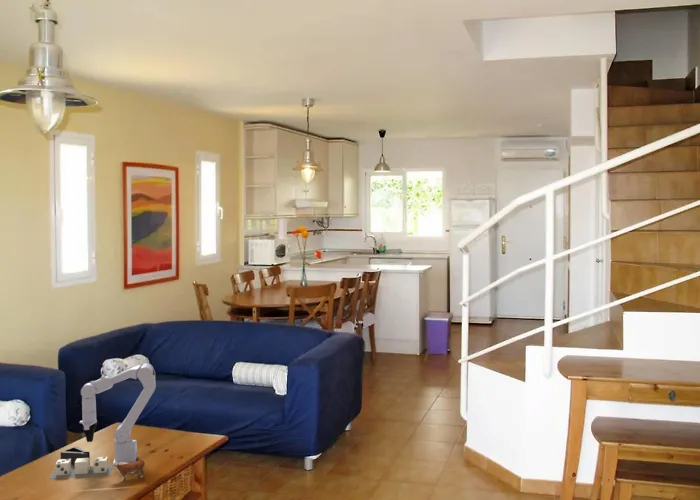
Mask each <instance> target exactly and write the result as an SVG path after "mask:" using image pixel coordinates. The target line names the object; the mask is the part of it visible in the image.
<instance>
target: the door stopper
mask: <svg viewBox="0 0 700 500" xmlns="http://www.w3.org/2000/svg"><path fill="white" fill-rule="evenodd" d="M90 454H91V453H90V451H87V450H84V449H82V448H80V446H77V445H75V446H73V447H70V448H68V449H66V450H63V451H60V459H71V466H75V461H76V459H77V458H89V463H90V464H91V455H90Z"/></svg>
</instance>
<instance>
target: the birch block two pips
mask: <svg viewBox="0 0 700 500" xmlns="http://www.w3.org/2000/svg"><path fill="white" fill-rule="evenodd" d="M108 460H109V458H108V456H96V457H95V458H94V460H93V466H94V473H103V472H107V469H108V465H109V461H108Z"/></svg>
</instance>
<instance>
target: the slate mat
mask: <svg viewBox="0 0 700 500" xmlns="http://www.w3.org/2000/svg"><path fill="white" fill-rule="evenodd" d="M112 465H113V464H108V469H107V472H103V473H94V465H91V466H90V470H89V472H88V474H75V466H74V467H71V472H70V473H69V475H56V468H55V469H54V470H53V472H52V473H51V475H50V476H49V478H48V480H56V479H69V478H70V479H72V478H85V477H86V478H87V477H88V478H89V477H101V476H102V477H103V476H110V475H111V473H112V470H113V469H111V466H112Z"/></svg>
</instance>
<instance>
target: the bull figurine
mask: <svg viewBox="0 0 700 500" xmlns="http://www.w3.org/2000/svg"><path fill="white" fill-rule="evenodd" d="M145 464H146V463H145V461H144V460H142V459H141V460H136V461H135V462H115V463H113V464H111V465H112V466H111V469H112V470H114V471H116V473H117V474H119V475H120V476H122V477H121V482H123V481H125V479H126V475H127V474H131V475H134V477H138V475H140V478H143V477H144V467H145ZM134 473H135V474H134Z"/></svg>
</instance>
